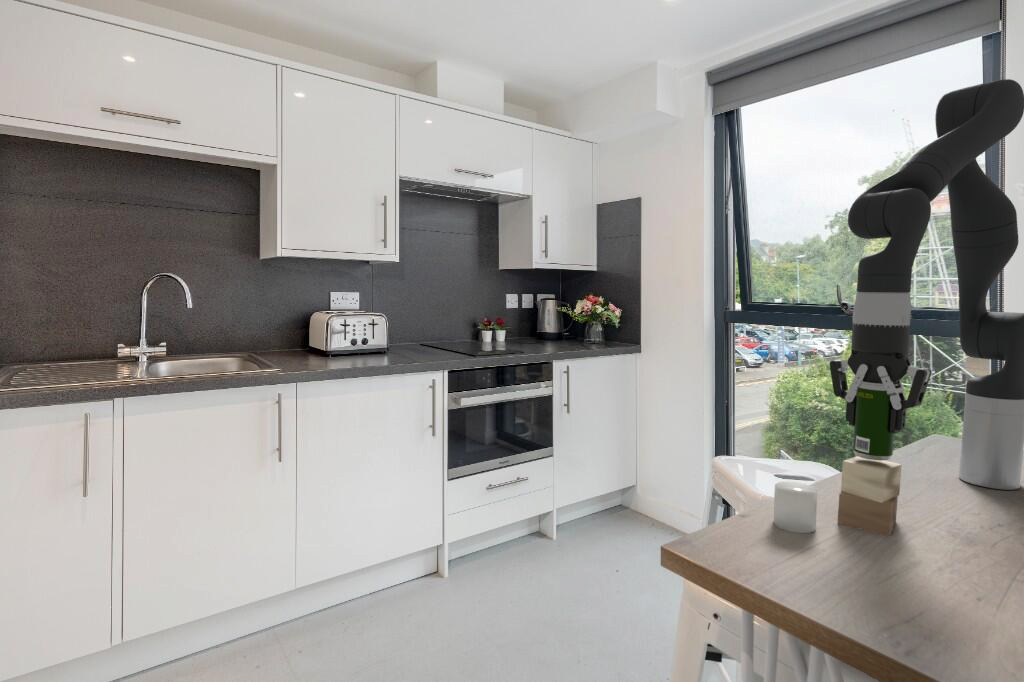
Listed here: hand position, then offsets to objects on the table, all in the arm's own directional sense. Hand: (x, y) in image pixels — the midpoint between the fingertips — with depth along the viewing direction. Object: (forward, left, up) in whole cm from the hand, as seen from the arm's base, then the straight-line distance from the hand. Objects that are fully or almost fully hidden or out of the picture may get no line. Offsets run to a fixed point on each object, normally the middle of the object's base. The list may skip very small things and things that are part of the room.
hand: (873, 428), depth 90 cm
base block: (0, 0, -15) cm, 15 cm away
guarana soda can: (0, 0, -5) cm, 5 cm away
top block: (0, 0, -10) cm, 10 cm away
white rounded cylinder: (+11, -6, -15) cm, 20 cm away
